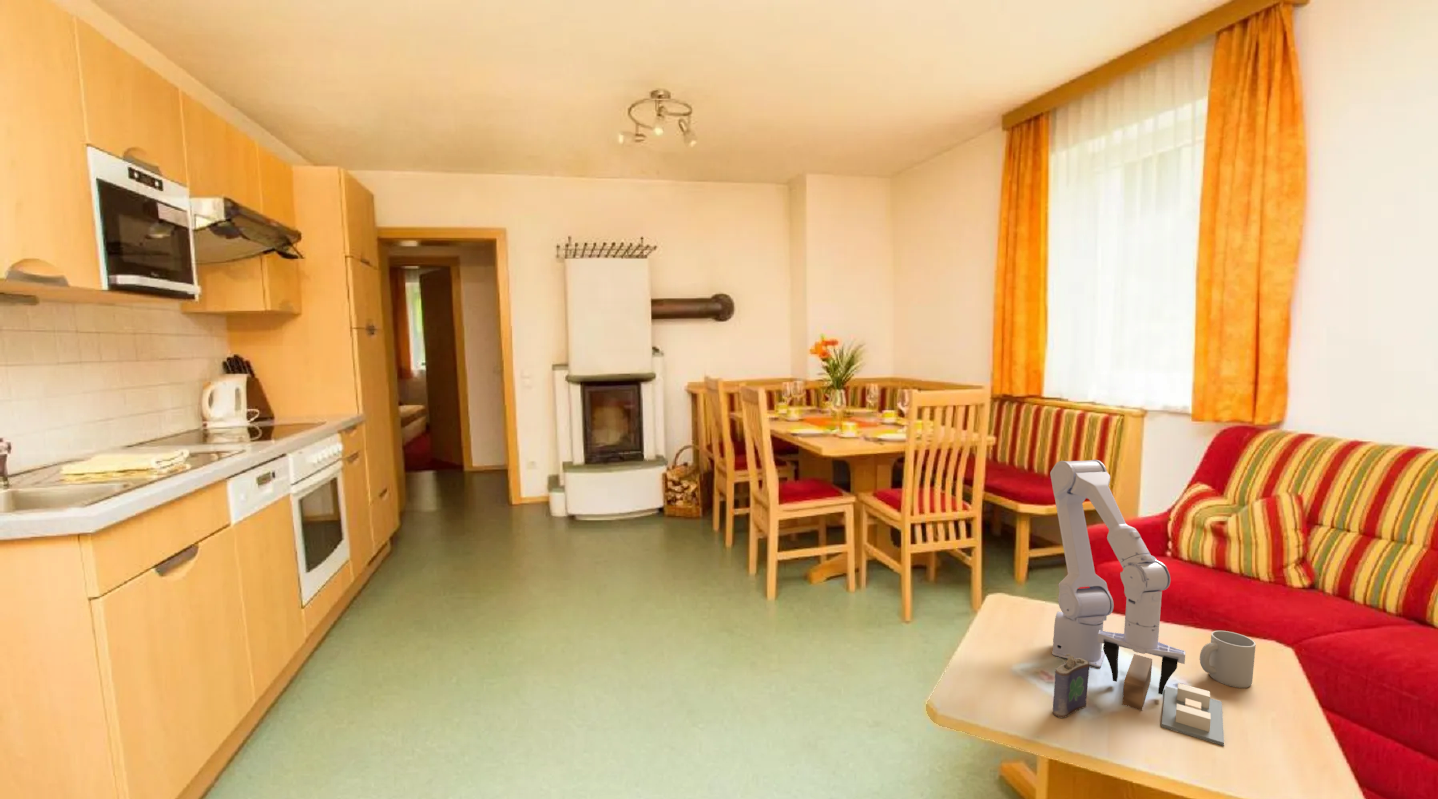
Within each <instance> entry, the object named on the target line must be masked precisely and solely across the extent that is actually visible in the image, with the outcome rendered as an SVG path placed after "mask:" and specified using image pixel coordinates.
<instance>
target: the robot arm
mask: <svg viewBox="0 0 1438 799" xmlns="http://www.w3.org/2000/svg"><path fill="white" fill-rule="evenodd" d="M1049 474H1050V479H1051V480H1050V481H1051V485H1052V491H1053V496H1054V500H1055V507H1056V511H1057V512H1056V513H1057V519H1058V524H1059V530H1060V536H1061V541H1062V542H1061V543H1062V548H1063V552H1064V557H1065V558H1064V559H1065V564H1066V570H1067V575H1066V576H1065V577H1064V578H1063V579H1062V580H1060V582H1059V583H1058V589H1059V590H1058V592H1059V593H1058V598H1057V600H1058V601H1057V602H1058V607H1059V609H1060V611H1056V614H1055V618H1054V625H1053V638H1052V640H1053V642H1052V653H1051V654H1052V655H1053V656H1054V657H1055V656H1056V657H1060V658H1064V659H1067V660H1068V657H1069V656H1072V655H1073V656H1074V659H1077V658H1082V659H1084V660H1087V661H1088V662H1089V666H1093V667H1095V668H1101V667H1102V664H1103V662H1104V658H1105V657H1106V660H1107V661H1108V664H1109V667H1110V671H1111V676H1112V681H1113V682H1117V681H1118V679H1119V650H1120V647H1121V648H1124V649H1128V650H1132V651H1133V652H1135V653H1139V654H1143V655H1144V654H1145V655H1146V654H1149V655H1153V656H1155V657H1156V656H1157V657H1160V658H1161V667H1160V678H1159V683H1158V691H1157V693H1158V694H1159V695H1162V696H1163V694H1164V691H1165V686H1167V683H1168V681H1169V679H1170V678H1171V677H1172V675H1173V674H1174V673H1175V672H1176V670H1177V669H1178V663H1179V664H1183V665H1185V663H1186V662H1185V661H1186V650H1184V649H1180V648H1178V647H1177V648H1176V647H1174V646H1171V645H1168V644H1165V643H1163V642H1160V641H1159V637H1160V636H1159V634H1160V633H1159V632H1160V622H1161V621H1160V620H1161V610H1162V609H1161V607H1162V598H1163V597H1162V595H1163V591H1165V590H1167V589H1168V588H1169V587H1170V585H1171V580H1172V579H1171V574H1170V572H1169V570H1168V566H1167V565H1166V564H1164V562H1162V561H1159V559H1158V560H1157V558H1156V556H1154V555H1151V552H1150V551H1149V549H1148V548H1147V545H1146V543H1145V542H1144V540H1143V539H1142V536H1141V534H1140V533H1139V531H1138V530H1137V528H1135V527H1133V526H1131V525H1128V524H1127V523H1126V521H1125V518H1124V516H1123V514H1122V512H1121V510H1120V507H1119V506H1118V504H1117V501H1116V499H1115V497H1114V495H1113V493H1112V491H1111V489H1110V482H1111V475H1110V474H1109V472H1108V470H1107V467H1106V466H1105V464H1104V463H1103V462H1102V461H1101V460H1098V459H1091V460H1069V461H1068V460H1067V461H1066V460H1059V461H1057V462H1056V463H1055V464H1054V466H1053V467H1052V469H1051V471H1050V473H1049ZM1086 499H1087V500H1089V502H1090V503H1091V505H1092V506H1093V508H1094V510H1096V512H1097V513H1098V515H1099V517H1100V518H1101V520H1102V521H1103V523H1104V525H1105V526H1106V527H1107V529H1108V533H1107V535H1106V536H1107V537H1106V539H1107V542H1108V544H1109V545H1110V547H1111V549H1112V550H1113V553H1114V555H1115V557H1116V558H1117V560H1118V562H1119V563H1120V565H1121V567H1122V571H1120V573H1119V574H1120V579H1121V580H1120V581H1121V582H1122V584H1123V587H1124V591H1123V594H1124V596H1125V597H1126V598H1125V599H1126V600H1125V602H1126V604H1125V614H1124V615H1125V616H1124V627H1123V629H1124V631H1123V632H1122V633H1119V632H1112V631H1106V630H1105V631H1104V622H1106V621H1107V617H1108V616H1111V614H1112V613H1113V611H1114V607H1115V605H1114V600H1113V597H1112V595H1111V593H1110V590H1109V588H1108V584H1107V582H1106V580H1104V579H1103V578H1101V577H1100V576H1099V575H1098V574H1096V570H1095V566H1094V560H1093V555H1092V549H1091V548H1092V547H1091V544H1090V538H1089V532H1088V527H1087V521H1086V517H1085V511H1084V506H1083V503H1084V502H1085V500H1086ZM1102 645H1103V646H1102ZM1102 648H1103V649H1102ZM1066 654H1071V655H1069V656H1066ZM1065 656H1066V657H1065Z"/></svg>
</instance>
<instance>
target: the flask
mask: <svg viewBox="0 0 1438 799" xmlns="http://www.w3.org/2000/svg"><path fill="white" fill-rule="evenodd" d="M1069 655H1071V654H1066V656H1069ZM1066 656H1065V657H1066ZM1089 673H1090V665H1089V662H1088V661H1087V660H1084V659H1082V658H1077V659H1074V656H1073V655H1072V656H1069V657H1068V659H1067V660H1066V661H1065V662H1063V663H1062V664H1060V665H1059V666H1057V667H1056V669H1055V671H1054V674H1055V675H1054V687H1053V688H1054V690H1053V702H1052V715H1053V716H1055V717H1057V718H1059V719H1062V718H1068V717H1069V716H1071V715H1073V714H1075V713H1076V711H1080V710H1083V708H1086V707H1087V696H1088V684H1089Z"/></svg>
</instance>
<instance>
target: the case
mask: <svg viewBox="0 0 1438 799" xmlns="http://www.w3.org/2000/svg"><path fill="white" fill-rule="evenodd" d="M1152 666H1153V658H1150V657H1146V656H1143V655H1138V654H1136V653H1134V654H1133V656H1132V659H1131V662H1130V664H1129V667H1128V669H1127V673H1126V675H1125V677H1124V680H1123V690H1122V691H1123V692H1122V704H1121V705H1122V706H1125V707H1129V708H1132V709H1135V710H1137V711H1143V709H1144V705H1145V701H1146V698H1147V694H1148V691H1149V688H1150V685H1151V682H1152V681H1151V680H1152Z"/></svg>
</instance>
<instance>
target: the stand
mask: <svg viewBox="0 0 1438 799" xmlns="http://www.w3.org/2000/svg"><path fill="white" fill-rule="evenodd" d="M1222 703H1223V702H1222V701H1221V700H1218V699H1215V698H1211V692H1210V691H1209V690H1206V689H1202V688H1199V687H1194V686H1191V685H1187V684H1183V683H1180V682H1177V688H1174V687H1171V686H1167V685H1165V687H1164V696H1163V706H1162V707H1163V709H1162V717H1161V728H1164V729H1167V730H1171V731H1174V732H1177V733H1181V734H1183V735H1186V736H1189V737H1190V736H1191V737H1194V738H1196V739H1200V740H1203V741H1206V742H1210V743H1213V744H1215V745H1216V744H1217V745H1219V746H1225V735H1224V734H1225V733H1224V718H1223V716H1224V715H1223V704H1222Z"/></svg>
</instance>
